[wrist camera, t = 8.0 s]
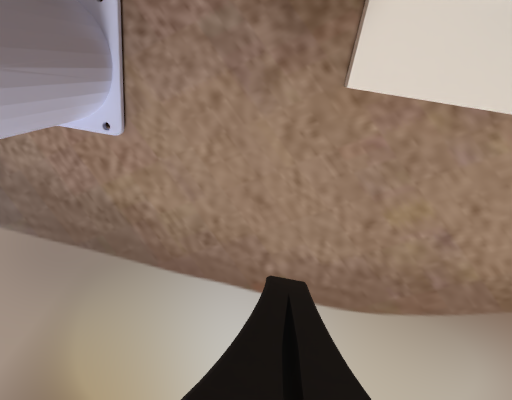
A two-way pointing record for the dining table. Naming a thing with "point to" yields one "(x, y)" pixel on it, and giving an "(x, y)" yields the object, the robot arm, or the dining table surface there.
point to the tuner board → (436, 51)
